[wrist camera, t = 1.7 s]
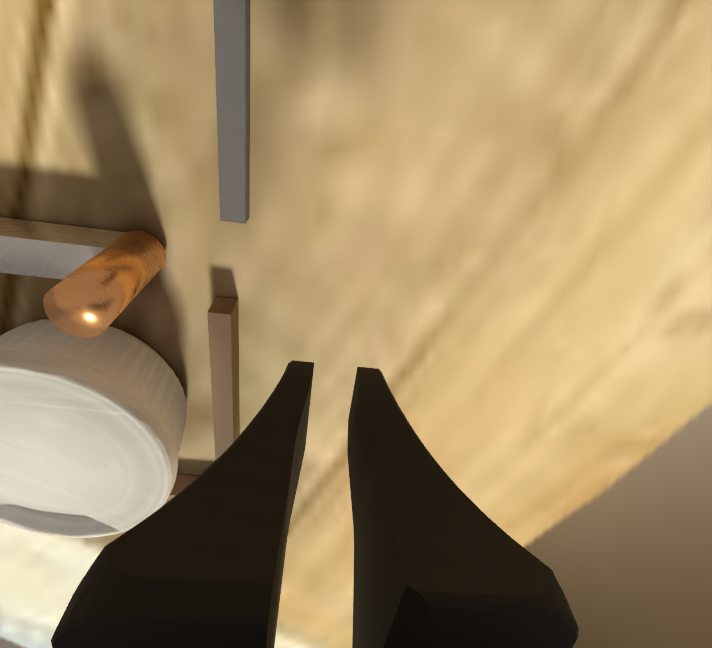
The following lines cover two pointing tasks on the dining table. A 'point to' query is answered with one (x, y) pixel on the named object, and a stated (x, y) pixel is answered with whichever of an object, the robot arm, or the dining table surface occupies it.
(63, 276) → the brown cylinder with bar
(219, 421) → the frame
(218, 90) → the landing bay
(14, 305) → the dining table surface
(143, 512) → the ramekin
